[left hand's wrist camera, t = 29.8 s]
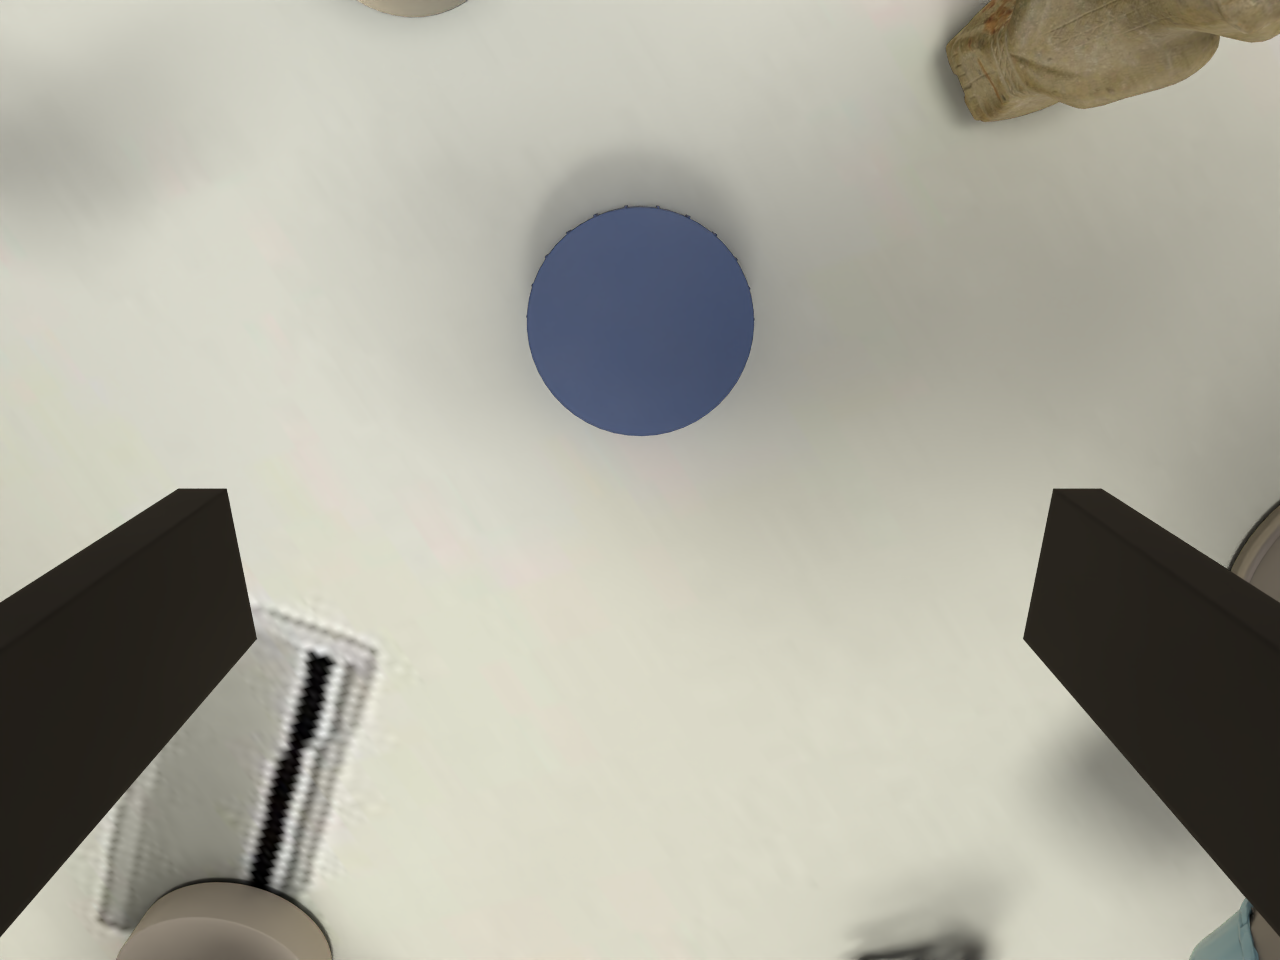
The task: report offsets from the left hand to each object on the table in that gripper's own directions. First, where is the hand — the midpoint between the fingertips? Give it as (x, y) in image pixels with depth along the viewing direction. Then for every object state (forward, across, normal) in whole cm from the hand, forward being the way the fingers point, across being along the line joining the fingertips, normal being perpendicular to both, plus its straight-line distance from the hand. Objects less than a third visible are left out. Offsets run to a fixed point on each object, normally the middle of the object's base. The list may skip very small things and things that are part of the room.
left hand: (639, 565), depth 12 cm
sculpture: (+26, -16, -12) cm, 33 cm away
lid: (+24, 0, 0) cm, 24 cm away
